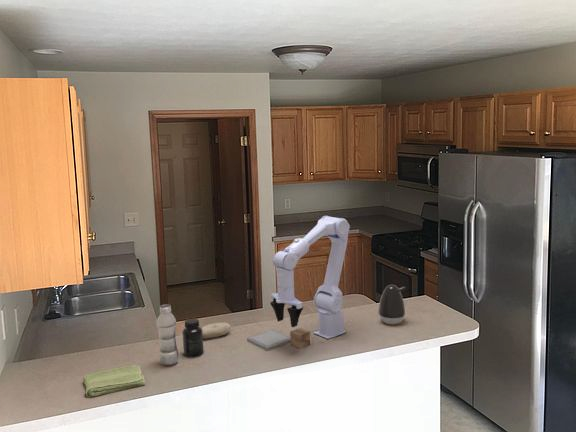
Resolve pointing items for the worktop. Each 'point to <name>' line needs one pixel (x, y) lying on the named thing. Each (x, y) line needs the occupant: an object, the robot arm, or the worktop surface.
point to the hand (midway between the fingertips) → (287, 323)
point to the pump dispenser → (392, 305)
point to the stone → (215, 330)
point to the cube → (300, 337)
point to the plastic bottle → (167, 336)
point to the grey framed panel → (269, 339)
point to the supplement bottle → (192, 338)
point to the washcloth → (113, 380)
